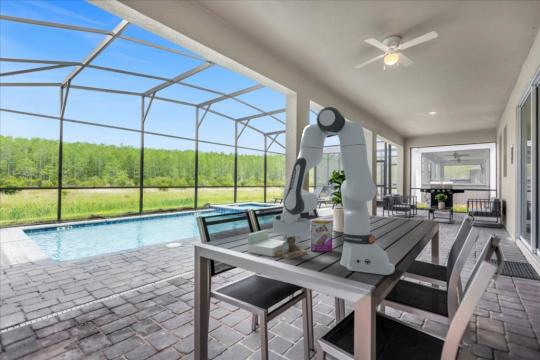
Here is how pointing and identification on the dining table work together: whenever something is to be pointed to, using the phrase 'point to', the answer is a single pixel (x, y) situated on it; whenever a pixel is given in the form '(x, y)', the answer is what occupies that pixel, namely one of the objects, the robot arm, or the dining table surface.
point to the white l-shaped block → (263, 244)
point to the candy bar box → (321, 235)
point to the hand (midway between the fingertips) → (291, 244)
